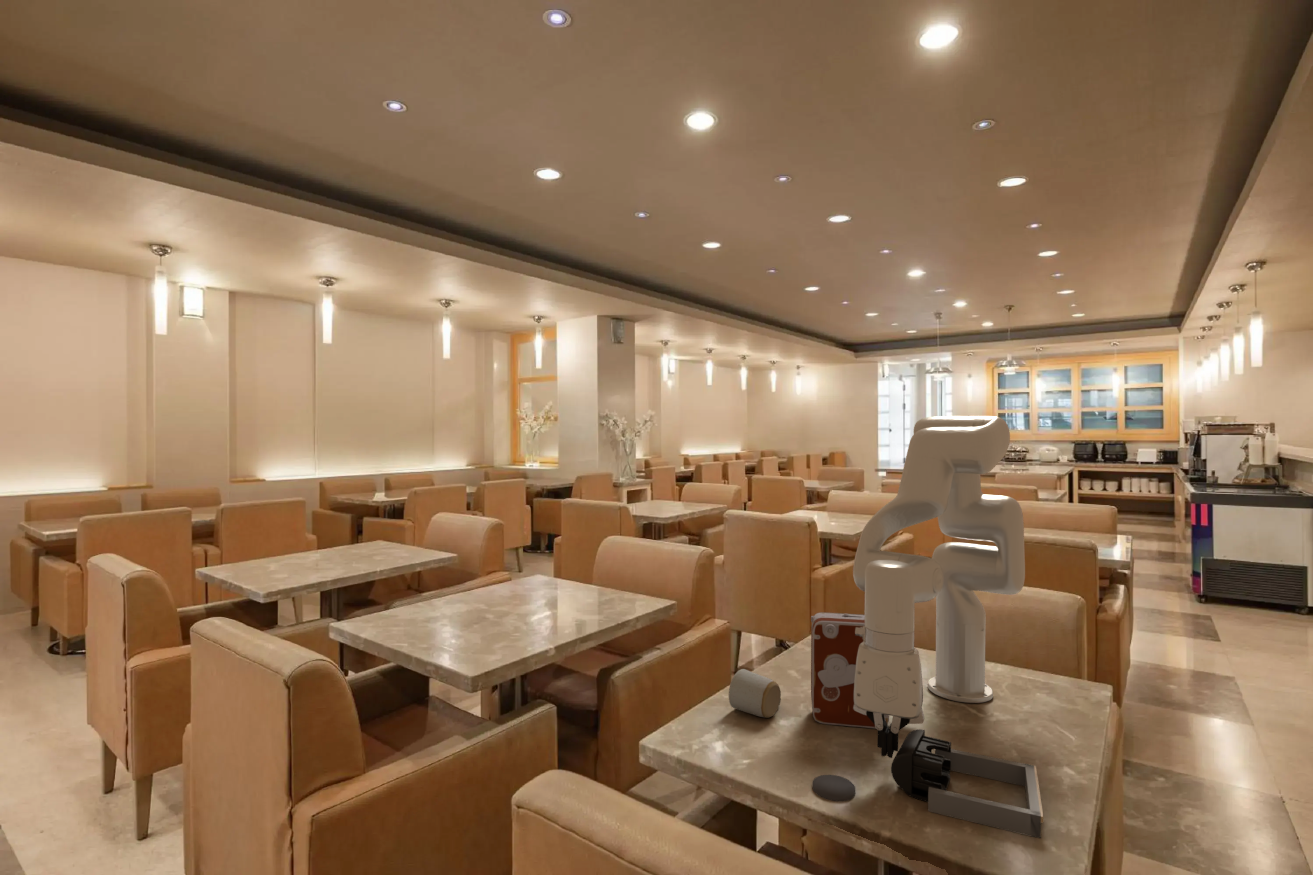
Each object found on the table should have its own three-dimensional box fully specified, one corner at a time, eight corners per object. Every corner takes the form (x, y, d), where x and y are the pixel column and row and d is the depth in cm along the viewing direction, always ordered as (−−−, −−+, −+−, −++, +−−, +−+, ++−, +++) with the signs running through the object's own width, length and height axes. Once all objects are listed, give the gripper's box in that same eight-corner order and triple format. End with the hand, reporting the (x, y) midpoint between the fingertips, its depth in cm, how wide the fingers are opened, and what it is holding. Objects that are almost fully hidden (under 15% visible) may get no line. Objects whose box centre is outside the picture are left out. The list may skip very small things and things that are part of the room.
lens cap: (817, 777, 107) (817, 770, 107) (858, 786, 104) (858, 780, 104) (807, 796, 101) (808, 790, 101) (851, 807, 98) (851, 800, 98)
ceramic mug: (764, 725, 125) (764, 684, 125) (727, 713, 130) (727, 673, 130) (790, 707, 133) (791, 669, 133) (754, 697, 138) (755, 660, 138)
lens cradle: (935, 763, 110) (935, 745, 110) (1035, 784, 104) (1035, 765, 104) (928, 811, 97) (928, 790, 97) (1043, 838, 90) (1043, 816, 90)
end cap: (904, 765, 110) (905, 724, 110) (951, 777, 106) (951, 735, 106) (890, 792, 101) (890, 748, 101) (940, 807, 98) (940, 761, 98)
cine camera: (921, 736, 120) (922, 626, 120) (811, 726, 124) (812, 620, 124) (912, 715, 129) (913, 613, 129) (810, 706, 133) (810, 607, 133)
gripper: (836, 638, 106) (835, 752, 106) (937, 653, 99) (936, 775, 100) (846, 626, 113) (844, 733, 113) (941, 639, 106) (940, 753, 106)
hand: (887, 752), depth 106 cm, fingers closed
